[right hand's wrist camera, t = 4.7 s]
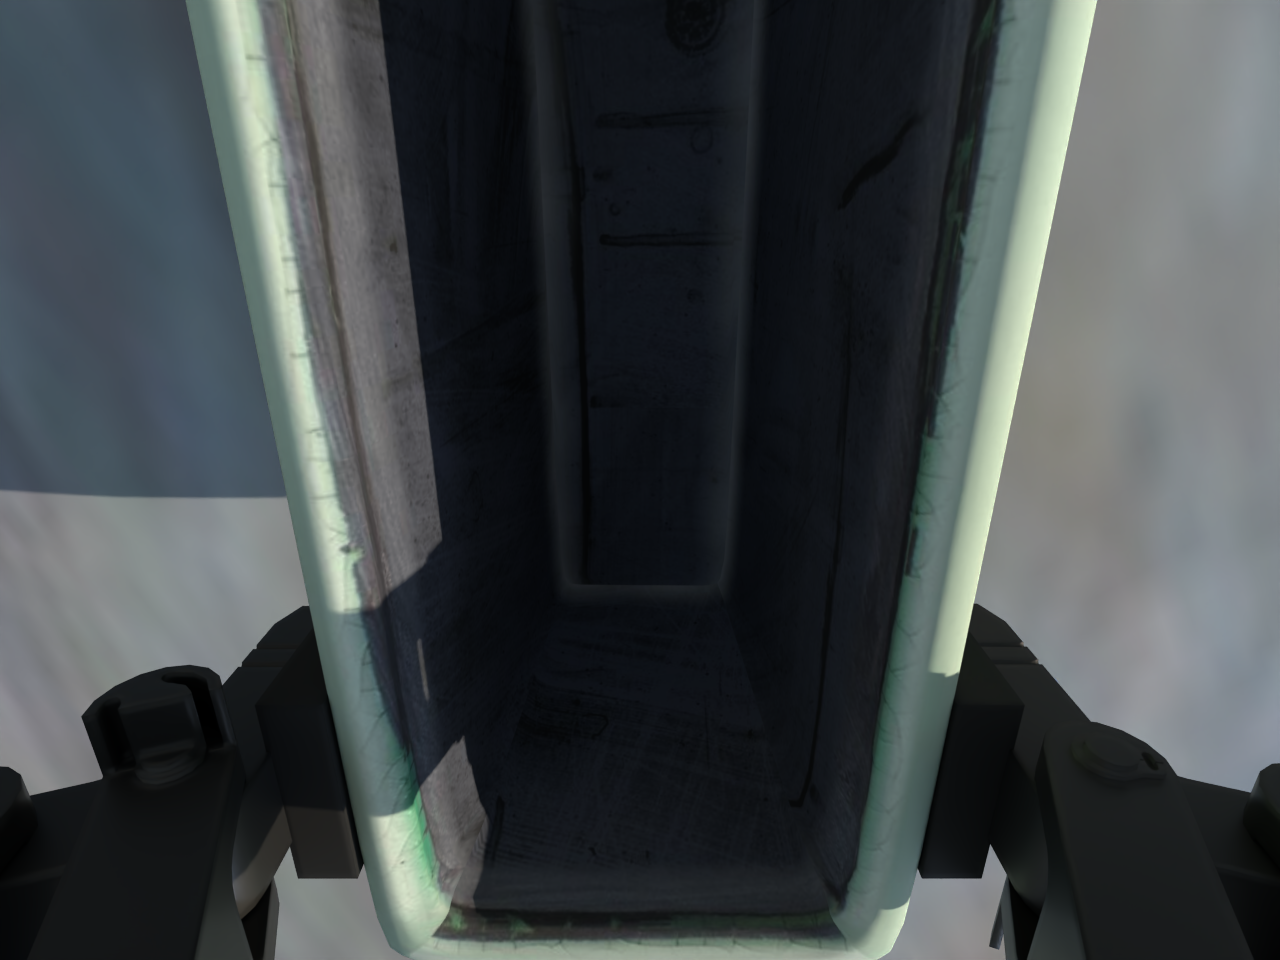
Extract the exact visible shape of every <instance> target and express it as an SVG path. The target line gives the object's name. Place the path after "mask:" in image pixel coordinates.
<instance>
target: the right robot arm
mask: <svg viewBox="0 0 1280 960" xmlns="http://www.w3.org/2000/svg"><path fill="white" fill-rule="evenodd" d="M81 717H82V720H83V723H84V725H85V728H86V731H87V733H88V736H89V739H90V742H91V744H92V747H93V750H94V753H95V755H96V758H97V761H98V763H99V766H100V769H101V772H102V774H103V778H102V779H101V780H97V781H94V782H90V783H85V784H81V785H76V786H72V787H67V788H63V789H58V790H54V791H49V792H45V793H40V794H36V795H31V796H29V793H28V791H27V788H26V786H25V784H24V781H23V779H22V777H21V775H20V774H19V773H17V772H16V771H14V770H13V769H11V768H9V767H0V960H274V957H275V946H276V935H277V924H278V914H279V899H278V893H277V888H276V884H275V881H274V875H275V873H276V871H277V869H278V867H279V866H280V864H281V862H282V860H283V858H284V856H285V854H286V852H287V851H288V849H289V847H290V848H291V852H292V856H293V860H294V864H295V868H296V872H297V876H298V878H358V876H359V874H360V871H361V869H362V867H363V864H364V862H363V858H362V854H361V850H360V845H359V840H358V836H357V831H356V826H355V822H354V817H353V812H352V807H351V803H350V798H349V793H348V788H347V784H346V779H345V774H344V769H343V765H342V760H341V755H340V750H339V746H338V741H337V736H336V731H335V726H334V722H333V717H332V712H331V707H330V703H329V698H328V694H327V689H326V684H325V680H324V675H323V670H322V665H321V660H320V655H319V650H318V646H317V641H316V636H315V631H314V626H313V621H312V616H311V611H310V607H309V606H302V607H300V608H299V609H297V610H296V611H294V612H293V613H291V614H289V615H288V616H286V617H285V618H283V619H282V620H280V621H278V622H277V623H275V624H274V625H273V626H272V628H271V629H270V630H269V631H268V632H267V634H266V635H265V636H264V637H263V638H262V639H261V641H260V642H259V643H258V644H257V649H253V650H252V651H251V652H250V654H249V655H248V656H247V657H246V658H245V659H244V661H243V662H242V667H238V668H237V669H236V670H235V671H234V672H233V674H232V675H231V676H230V677H229V678H228V680H227V681H226V682H225V683H224V684H223V685H222V683H221V679H220V676H219V675H218V674H216V673H215V672H214V671H212V670H211V669H209V668H206V667H200V666H194V665H184V666H173V667H165V668H162V669H158V670H155V671H151V672H147V673H144V674H140V675H138V676H136V677H134V678H132V679H129V680H127V681H125V682H123V683H121V684H119V685H116V686H115V687H113V688H112V689H110V690H109V691H107V692H106V693H105V694H103V695H102V696H100V697H99V698H98V699H96V700H95V701H94V702H93V703H92V704H91V705H90V707H89V708H88V709H87V710H86V712H85V713H84V714H83V715H82V716H81ZM990 844H991V846H992V848H993V850H994V851H995V853H996V855H997V857H998V859H999V861H1000V863H1001V864H1002V866H1003V868H1004V870H1005V872H1006V874H1007V877H1006V881H1005V884H1004V888H1003V892H1002V895H1001V899H1000V903H999V907H998V910H997V914H996V918H995V921H994V925H993V929H992V934H991V939H990V945H989V947H992V948H996V949H999V948H1000V944H1001V941H1002V937H1003V934H1004V944H1005V954H1006V960H1280V763H1278V764H1271V765H1270V766H1268V767H1266V768H1265V769H1263V770H1262V771H1260V773H1259V775H1258V777H1257V780H1256V782H1255V785H1254V787H1253V789H1252V792H1251V793H1249V792H1245V791H1240V790H1236V789H1231V788H1227V787H1222V786H1218V785H1213V784H1209V783H1204V782H1200V781H1195V780H1191V779H1186V778H1183V777H1179V776H1177V775H1176V773H1175V772H1174V770H1173V769H1172V767H1171V766H1170V765H1169V763H1168V762H1167V760H1166V759H1165V758H1164V757H1163V756H1161V755H1160V754H1159V753H1158V752H1157V751H1155V750H1154V749H1153V748H1152V747H1150V746H1149V745H1148V744H1147V743H1145V742H1143V741H1141V740H1139V739H1138V738H1136V737H1134V736H1132V735H1130V734H1128V733H1126V732H1124V731H1122V730H1119V729H1116V728H1113V727H1110V726H1107V725H1104V724H1100V723H1097V722H1091V721H1090V720H1089V719H1088V718H1087V717H1086V715H1085V714H1084V713H1083V712H1082V711H1081V710H1080V708H1079V707H1078V706H1077V705H1076V704H1075V703H1074V701H1073V700H1072V699H1071V698H1070V697H1069V695H1068V694H1067V693H1066V692H1065V691H1064V690H1063V688H1062V687H1061V686H1060V685H1059V684H1058V683H1057V681H1056V680H1055V679H1054V678H1053V677H1052V676H1051V674H1050V673H1049V672H1048V671H1047V670H1046V669H1045V667H1044V666H1043V665H1042V664H1038V659H1037V658H1036V657H1035V656H1034V654H1033V653H1032V652H1031V651H1030V650H1029V649H1028V647H1024V646H1023V642H1022V640H1021V639H1020V638H1019V637H1018V636H1017V635H1016V633H1015V632H1014V631H1013V630H1012V629H1011V628H1010V626H1009V625H1008V624H1007V623H1006V622H1005V621H1004V620H1002V619H1000V618H999V617H997V616H996V615H994V614H993V613H991V612H990V611H988V610H986V609H985V608H983V607H982V606H980V605H979V604H973V609H972V614H971V618H970V623H969V628H968V633H967V638H966V643H965V648H964V652H963V657H962V662H961V667H960V672H959V677H958V682H957V687H956V691H955V696H954V700H953V705H952V710H951V715H950V719H949V724H948V729H947V734H946V738H945V743H944V748H943V753H942V757H941V762H940V767H939V772H938V777H937V781H936V786H935V791H934V795H933V800H932V805H931V810H930V814H929V819H928V824H927V828H926V833H925V838H924V843H923V847H922V852H921V856H920V860H919V864H918V870H919V872H920V875H921V877H922V878H982V874H983V870H984V867H985V863H986V859H987V855H988V851H989V847H990Z"/></svg>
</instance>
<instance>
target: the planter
mask: <svg viewBox="0 0 1280 960" xmlns="http://www.w3.org/2000/svg"><path fill="white" fill-rule="evenodd" d="M185 1H186V6H187V11H188V16H189V21H190V25H191V30H192V35H193V40H194V45H195V50H196V55H197V60H198V65H199V70H200V74H201V79H202V84H203V89H204V94H205V99H206V104H207V109H208V114H209V119H210V124H211V128H212V133H213V138H214V143H215V148H216V153H217V158H218V163H219V168H220V173H221V178H222V182H223V187H224V192H225V197H226V202H227V207H228V212H229V217H230V222H231V227H232V232H233V236H234V241H235V246H236V251H237V256H238V261H239V266H240V271H241V276H242V281H243V285H244V290H245V295H246V300H247V305H248V310H249V315H250V320H251V325H252V330H253V335H254V339H255V344H256V349H257V354H258V359H259V364H260V369H261V373H262V378H263V383H264V388H265V393H266V398H267V403H268V407H269V412H270V417H271V422H272V427H273V432H274V437H275V441H276V446H277V451H278V456H279V461H280V466H281V471H282V475H283V480H284V485H285V490H286V495H287V500H288V505H289V509H290V514H291V519H292V524H293V529H294V534H295V539H296V543H297V548H298V553H299V558H300V563H301V568H302V573H303V577H304V582H305V587H306V592H307V597H308V602H309V607H310V611H311V616H312V621H313V626H314V631H315V636H316V641H317V646H318V650H319V655H320V660H321V665H322V670H323V675H324V680H325V684H326V689H327V694H328V698H329V703H330V707H331V712H332V717H333V722H334V726H335V731H336V736H337V741H338V746H339V750H340V755H341V760H342V765H343V769H344V774H345V779H346V784H347V788H348V793H349V798H350V803H351V807H352V812H353V817H354V822H355V826H356V831H357V836H358V840H359V845H360V850H361V854H362V858H363V862H364V866H365V870H366V874H367V878H368V882H369V886H370V890H371V894H372V898H373V902H374V906H375V910H376V914H377V918H378V920H379V923H380V925H381V927H382V930H383V932H384V934H385V937H386V939H387V941H388V943H389V946H390V947H391V948H392V949H394V950H395V951H397V952H398V953H400V954H401V955H403V956H406V957H408V958H411V959H414V960H877V959H879V958H881V957H882V956H884V955H885V954H887V953H889V952H890V951H891V949H892V947H893V945H894V942H895V940H896V938H897V936H898V934H899V932H900V930H901V927H902V925H903V923H904V920H905V916H906V912H907V908H908V904H909V900H910V896H911V892H912V888H913V884H914V880H915V876H916V872H917V868H918V864H919V860H920V856H921V852H922V847H923V843H924V838H925V833H926V828H927V824H928V819H929V814H930V810H931V805H932V800H933V795H934V791H935V786H936V781H937V777H938V772H939V767H940V762H941V757H942V753H943V748H944V743H945V738H946V734H947V729H948V724H949V719H950V715H951V710H952V705H953V700H954V696H955V691H956V687H957V682H958V677H959V672H960V667H961V662H962V657H963V652H964V648H965V643H966V638H967V633H968V628H969V623H970V618H971V614H972V609H973V604H974V599H975V594H976V589H977V584H978V580H979V575H980V570H981V565H982V560H983V555H984V550H985V546H986V541H987V536H988V531H989V526H990V521H991V516H992V512H993V507H994V502H995V497H996V492H997V487H998V482H999V477H1000V473H1001V468H1002V463H1003V458H1004V453H1005V448H1006V443H1007V439H1008V434H1009V429H1010V424H1011V419H1012V414H1013V409H1014V405H1015V400H1016V395H1017V390H1018V385H1019V380H1020V375H1021V371H1022V366H1023V361H1024V356H1025V351H1026V346H1027V341H1028V337H1029V332H1030V327H1031V322H1032V317H1033V312H1034V307H1035V302H1036V297H1037V292H1038V287H1039V283H1040V278H1041V273H1042V268H1043V263H1044V258H1045V253H1046V248H1047V243H1048V238H1049V233H1050V229H1051V224H1052V219H1053V214H1054V209H1055V204H1056V199H1057V194H1058V189H1059V184H1060V180H1061V175H1062V170H1063V165H1064V160H1065V155H1066V150H1067V145H1068V140H1069V135H1070V130H1071V126H1072V121H1073V116H1074V111H1075V106H1076V101H1077V96H1078V91H1079V86H1080V81H1081V76H1082V72H1083V67H1084V62H1085V57H1086V52H1087V47H1088V42H1089V37H1090V32H1091V27H1092V22H1093V18H1094V13H1095V8H1096V3H1097V0H185Z"/></svg>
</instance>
